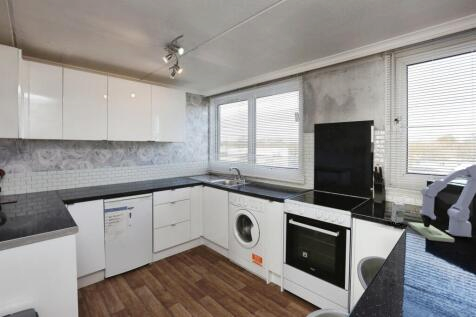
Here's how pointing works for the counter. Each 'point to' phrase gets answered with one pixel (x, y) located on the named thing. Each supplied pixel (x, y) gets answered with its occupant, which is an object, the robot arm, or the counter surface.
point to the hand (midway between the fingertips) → (426, 227)
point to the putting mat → (427, 232)
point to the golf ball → (435, 232)
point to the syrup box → (397, 212)
